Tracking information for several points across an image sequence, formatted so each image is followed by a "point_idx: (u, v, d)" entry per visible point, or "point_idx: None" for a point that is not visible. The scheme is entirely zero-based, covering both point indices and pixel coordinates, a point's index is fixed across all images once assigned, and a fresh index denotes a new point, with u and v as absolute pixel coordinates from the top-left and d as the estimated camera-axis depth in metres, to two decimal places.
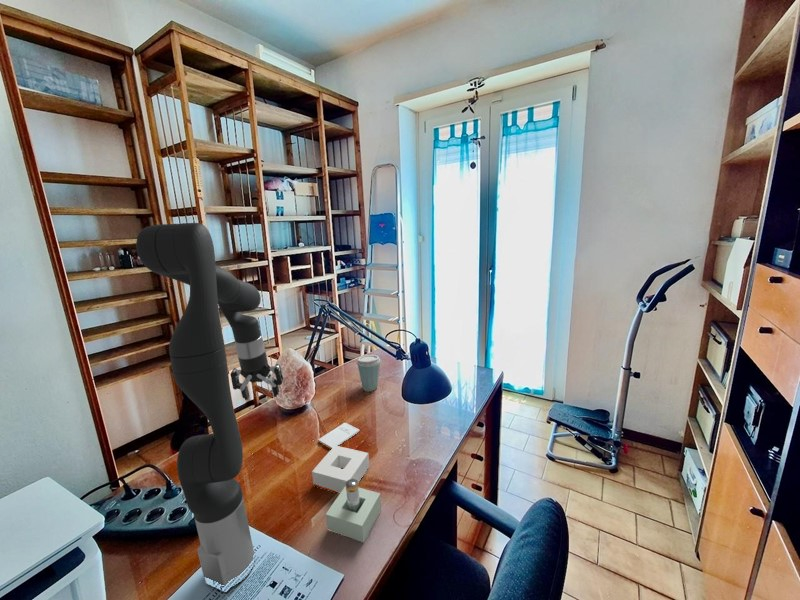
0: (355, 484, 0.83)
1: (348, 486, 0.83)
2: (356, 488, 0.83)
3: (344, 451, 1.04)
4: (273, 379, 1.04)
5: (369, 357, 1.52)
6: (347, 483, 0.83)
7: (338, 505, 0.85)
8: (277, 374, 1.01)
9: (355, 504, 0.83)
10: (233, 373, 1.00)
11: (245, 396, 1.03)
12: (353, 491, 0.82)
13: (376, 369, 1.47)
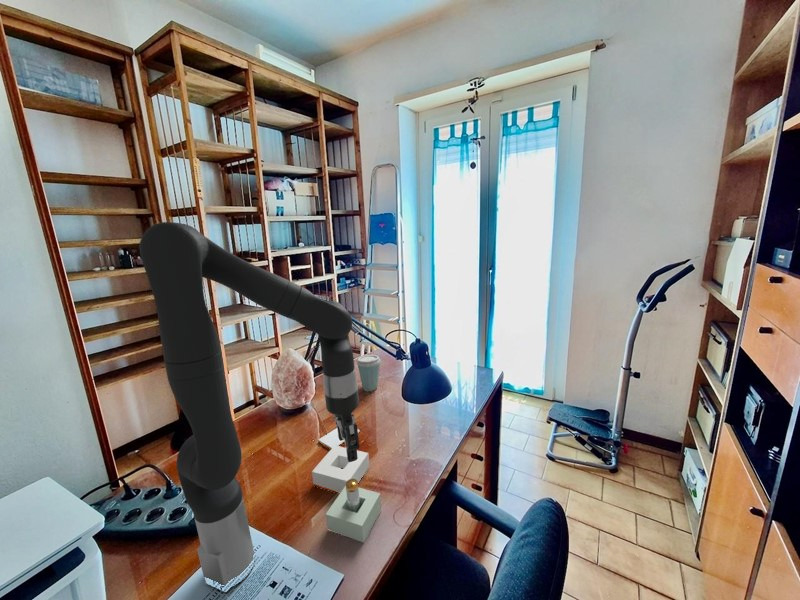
0: (355, 484, 0.83)
1: (348, 486, 0.83)
2: (356, 488, 0.83)
3: (344, 451, 1.04)
4: None
5: (369, 357, 1.52)
6: (347, 483, 0.84)
7: (338, 505, 0.85)
8: (346, 436, 0.73)
9: (355, 504, 0.83)
10: None
11: (338, 435, 0.84)
12: (354, 491, 0.82)
13: (376, 369, 1.47)
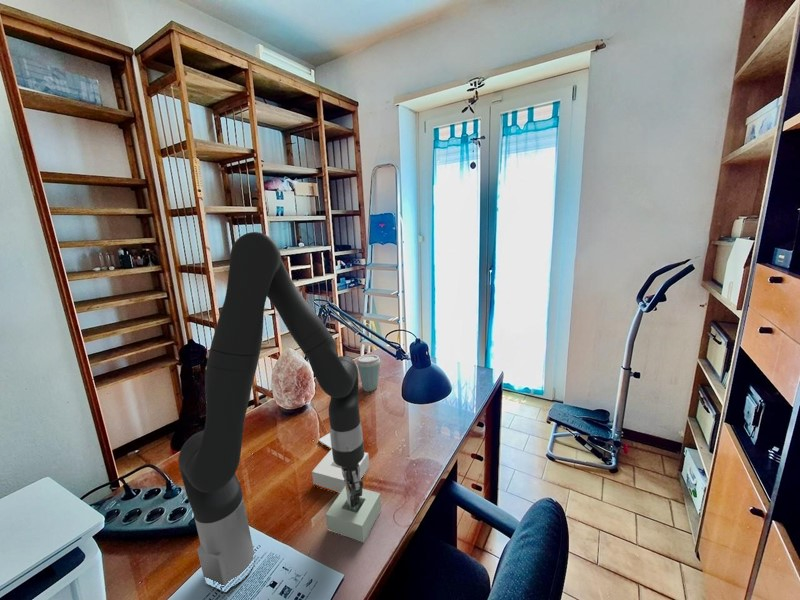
0: None
1: None
2: None
3: None
4: None
5: (369, 357, 1.52)
6: None
7: (338, 505, 0.85)
8: (351, 490, 0.77)
9: None
10: None
11: None
12: None
13: (376, 369, 1.47)
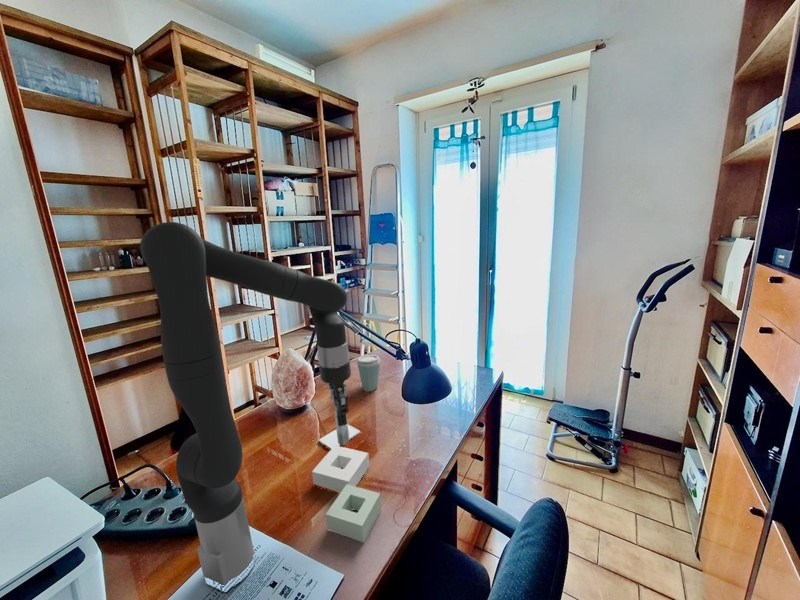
0: None
1: None
2: None
3: (344, 451, 1.04)
4: None
5: (369, 357, 1.52)
6: None
7: (338, 505, 0.85)
8: (337, 405, 0.81)
9: None
10: None
11: None
12: None
13: (376, 369, 1.47)
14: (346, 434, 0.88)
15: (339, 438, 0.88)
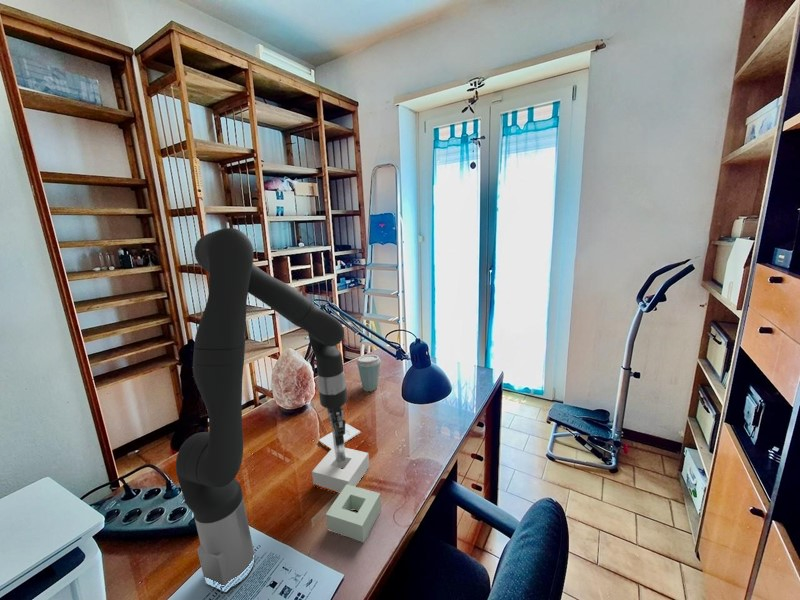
0: None
1: None
2: None
3: None
4: None
5: (369, 357, 1.52)
6: None
7: (338, 505, 0.85)
8: (335, 428, 0.91)
9: None
10: None
11: None
12: None
13: (376, 369, 1.47)
14: (343, 452, 0.98)
15: (336, 456, 0.98)
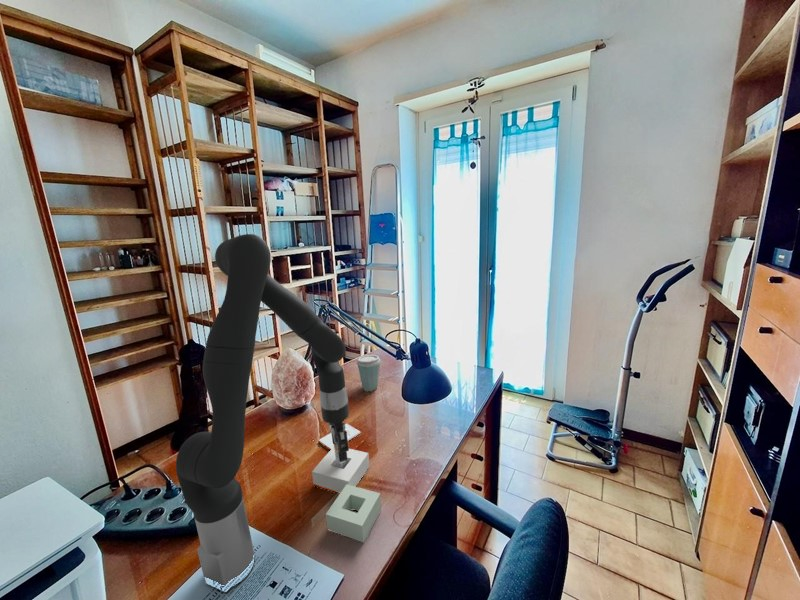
0: None
1: (336, 446, 0.97)
2: None
3: None
4: None
5: (369, 357, 1.52)
6: (335, 444, 0.98)
7: (338, 505, 0.85)
8: (338, 440, 0.91)
9: (342, 462, 0.98)
10: None
11: (332, 440, 1.02)
12: None
13: (376, 369, 1.47)
14: None
15: None
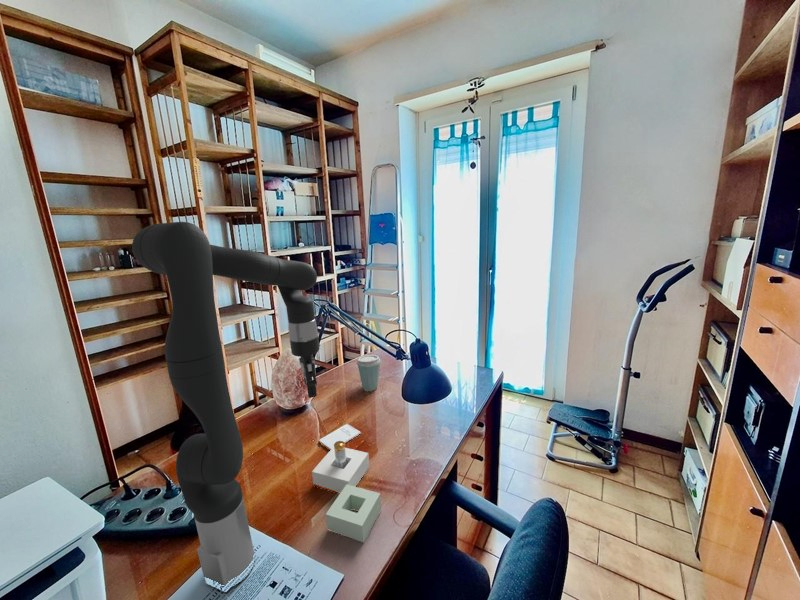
0: (342, 444, 0.98)
1: (336, 446, 0.97)
2: (343, 448, 0.98)
3: None
4: (313, 378, 0.91)
5: (369, 357, 1.52)
6: (335, 444, 0.98)
7: (338, 505, 0.85)
8: (305, 372, 0.88)
9: (342, 462, 0.98)
10: None
11: (304, 379, 0.99)
12: (341, 450, 0.97)
13: (376, 369, 1.47)
14: None
15: None
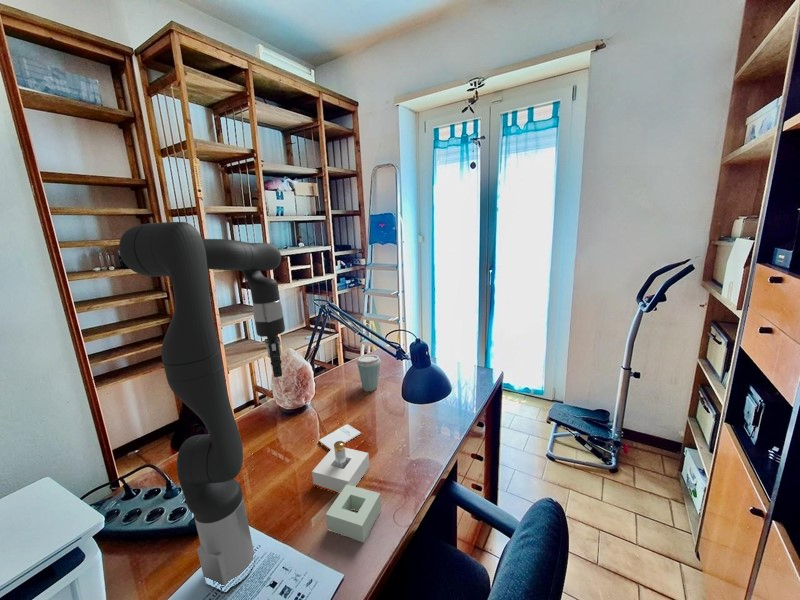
0: (342, 445, 0.98)
1: (336, 446, 0.97)
2: (343, 448, 0.98)
3: None
4: (278, 357, 0.93)
5: (369, 357, 1.52)
6: (335, 444, 0.98)
7: (338, 505, 0.85)
8: (269, 352, 0.89)
9: (342, 462, 0.98)
10: None
11: None
12: (340, 450, 0.97)
13: (376, 369, 1.47)
14: None
15: None
